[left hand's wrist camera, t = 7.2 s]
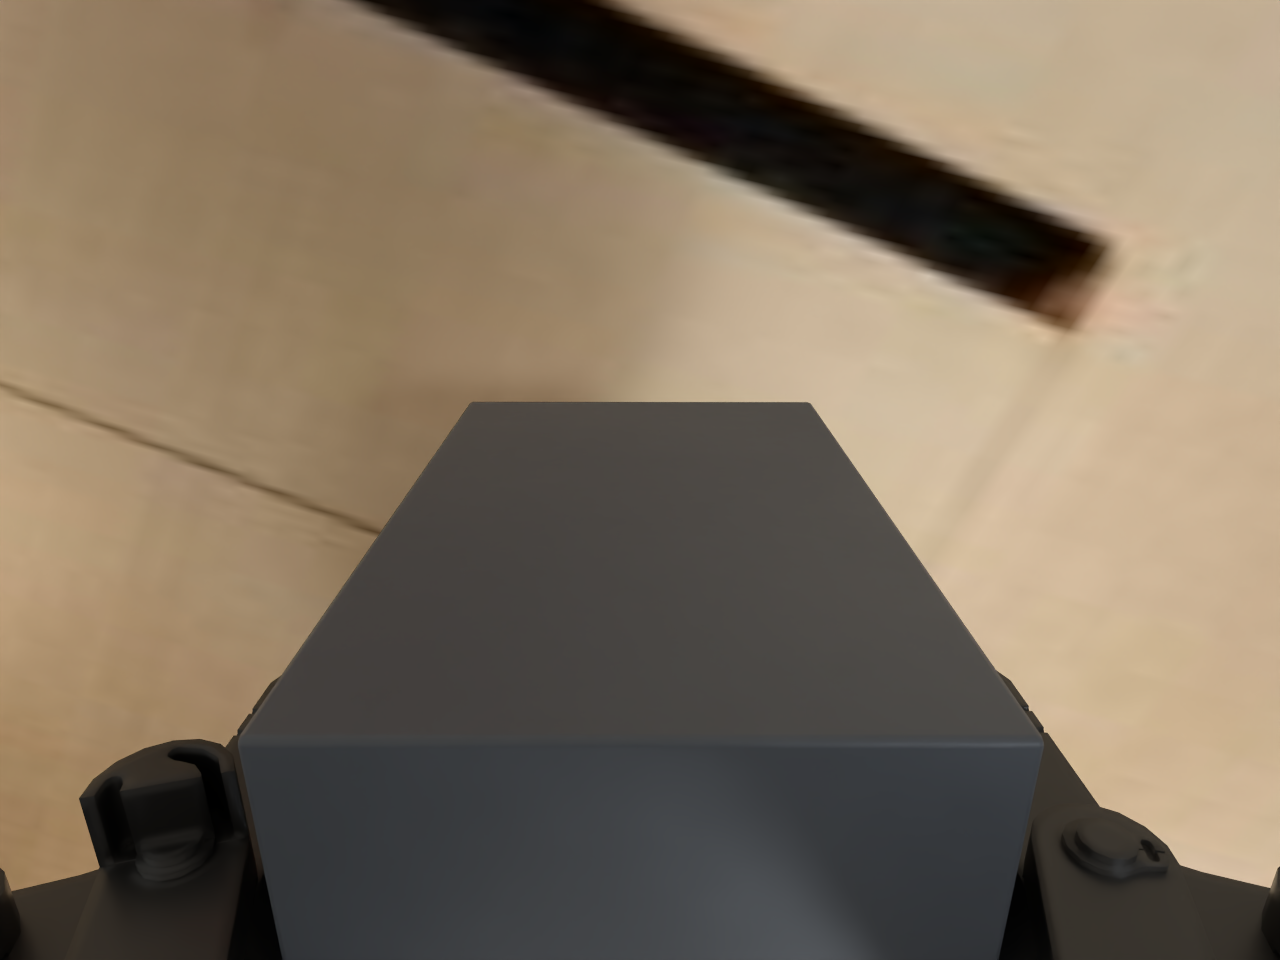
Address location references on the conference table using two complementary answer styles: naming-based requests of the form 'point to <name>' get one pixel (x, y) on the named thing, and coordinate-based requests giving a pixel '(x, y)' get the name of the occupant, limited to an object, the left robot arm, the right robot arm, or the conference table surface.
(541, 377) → the conference table surface
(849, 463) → the bar
